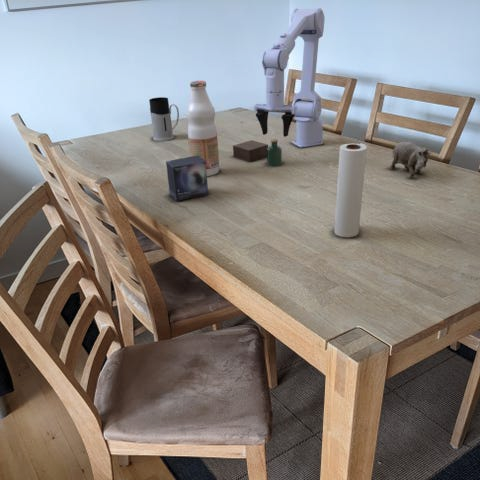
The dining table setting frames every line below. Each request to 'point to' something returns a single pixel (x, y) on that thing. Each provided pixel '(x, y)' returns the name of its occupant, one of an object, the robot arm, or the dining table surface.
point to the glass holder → (162, 118)
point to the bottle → (274, 154)
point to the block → (250, 150)
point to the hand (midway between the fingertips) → (275, 135)
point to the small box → (187, 177)
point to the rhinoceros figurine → (410, 157)
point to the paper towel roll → (349, 189)
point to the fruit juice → (202, 127)
